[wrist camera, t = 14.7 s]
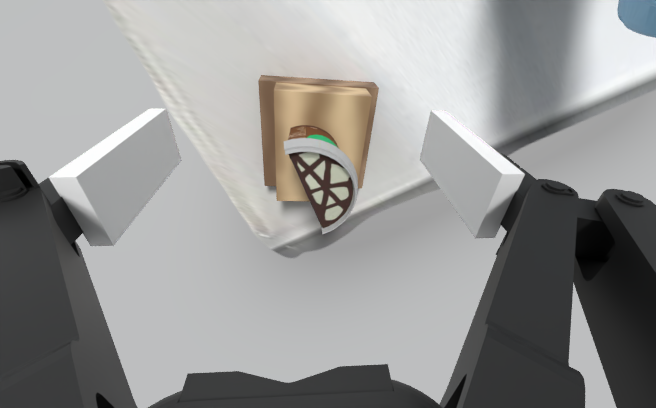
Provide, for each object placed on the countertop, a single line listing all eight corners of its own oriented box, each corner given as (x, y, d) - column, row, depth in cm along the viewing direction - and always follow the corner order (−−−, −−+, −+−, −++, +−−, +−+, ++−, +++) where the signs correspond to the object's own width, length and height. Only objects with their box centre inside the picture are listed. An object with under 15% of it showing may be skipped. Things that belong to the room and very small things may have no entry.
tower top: (366, 88, 39) (371, 96, 36) (351, 188, 48) (354, 202, 45) (276, 82, 38) (273, 90, 34) (278, 186, 47) (276, 200, 43)
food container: (358, 180, 42) (372, 222, 34) (318, 193, 43) (324, 237, 35) (332, 99, 36) (342, 128, 27) (286, 116, 36) (282, 149, 28)
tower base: (372, 81, 42) (378, 87, 39) (358, 176, 51) (361, 188, 48) (262, 74, 41) (258, 80, 37) (267, 173, 50) (264, 185, 46)
